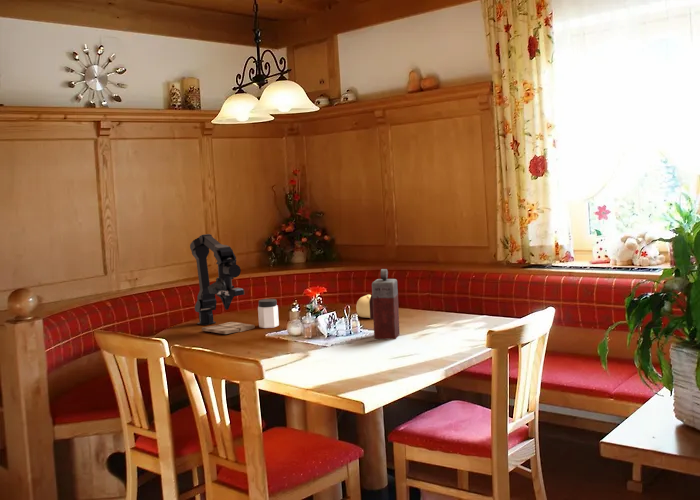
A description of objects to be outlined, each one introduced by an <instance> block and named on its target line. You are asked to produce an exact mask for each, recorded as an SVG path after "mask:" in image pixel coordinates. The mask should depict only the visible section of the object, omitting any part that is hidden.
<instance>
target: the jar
mask: <svg viewBox="0 0 700 500" xmlns="http://www.w3.org/2000/svg"><path fill="white" fill-rule="evenodd" d="M277 303H278V302H277V299H276V298H264V299H260V300H258V306H257V313H258V327H259V328H262V329H273V328H276V327H278V326H279V325H280V321H279V305H277Z"/></svg>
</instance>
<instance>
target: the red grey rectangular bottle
mask: <svg viewBox="0 0 700 500" xmlns="http://www.w3.org/2000/svg"><path fill="white" fill-rule="evenodd" d="M388 275H389V271H388V269H387V268H381V269H380V278H377V279H375V280H374V281H372V283H371V294H370V295H371V297H370V301H369V304H370V318H369V319H370V320H373V335H374V336H373V337H374V339H375V340H397V339H398V337H399V336H400V313H399V312H400V311H399V290H398V279H396V278H388V277H389V276H388Z"/></svg>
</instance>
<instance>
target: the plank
mask: <svg viewBox="0 0 700 500" xmlns="http://www.w3.org/2000/svg"><path fill="white" fill-rule="evenodd" d="M201 332H209V333H210V332H211V333H216V334H222V335H228V334H234V333H240V332H239V329H236V328H229V327H223V326H218V325H210V326H205V327H201Z"/></svg>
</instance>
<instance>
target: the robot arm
mask: <svg viewBox="0 0 700 500" xmlns="http://www.w3.org/2000/svg"><path fill="white" fill-rule="evenodd" d="M189 248H190V251H191V254H192V256H193V257H194V258H195V260H196V269H197V276H198V285H199V292H198V293H197V296H196V297H197V298H196V299H197V300H196V303H195V304H194V310H195V312H196V313H198V319H199V320H198V321H199V322H197V323H196V324H197V325H201V326H207V325H212V324H216V323H217V322H216V321H214V314H213V311H216V309H217V298H216V296H217V297H219V298H220V300H221V303H222V305H223V306H224V307H223V308H224V310H226V311H228V310H229V308H230V306H231V303H232V302H233V300H234V297H238V296H243V295H245V289H244V288H241V287H235V285H233V282H232V281H233V280H235V279H234V278H238V277H239V276H240V275H241V272H242V270H241V267H240V266H239V265H238V264H237V256H236V254H235V253H234V251H233V248H232V247H231V246H229V245H227V244H222V243H220V242H219V241H218V240H217V239H215V238H214V237H213V235H212V233H211V234H210V233H206V234H200V235H199V236H198V237H196V238H195V239H193V240H192V241H191V242H190V244H189ZM210 251H212V252H213V257H214V258H215V260H216V262H215V263H216V265H217V275H218V277H216V279H215V282H213V283H210V276H209V275H210V274H209V265H208V259H207V258H208V255H209V254H210Z"/></svg>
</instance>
